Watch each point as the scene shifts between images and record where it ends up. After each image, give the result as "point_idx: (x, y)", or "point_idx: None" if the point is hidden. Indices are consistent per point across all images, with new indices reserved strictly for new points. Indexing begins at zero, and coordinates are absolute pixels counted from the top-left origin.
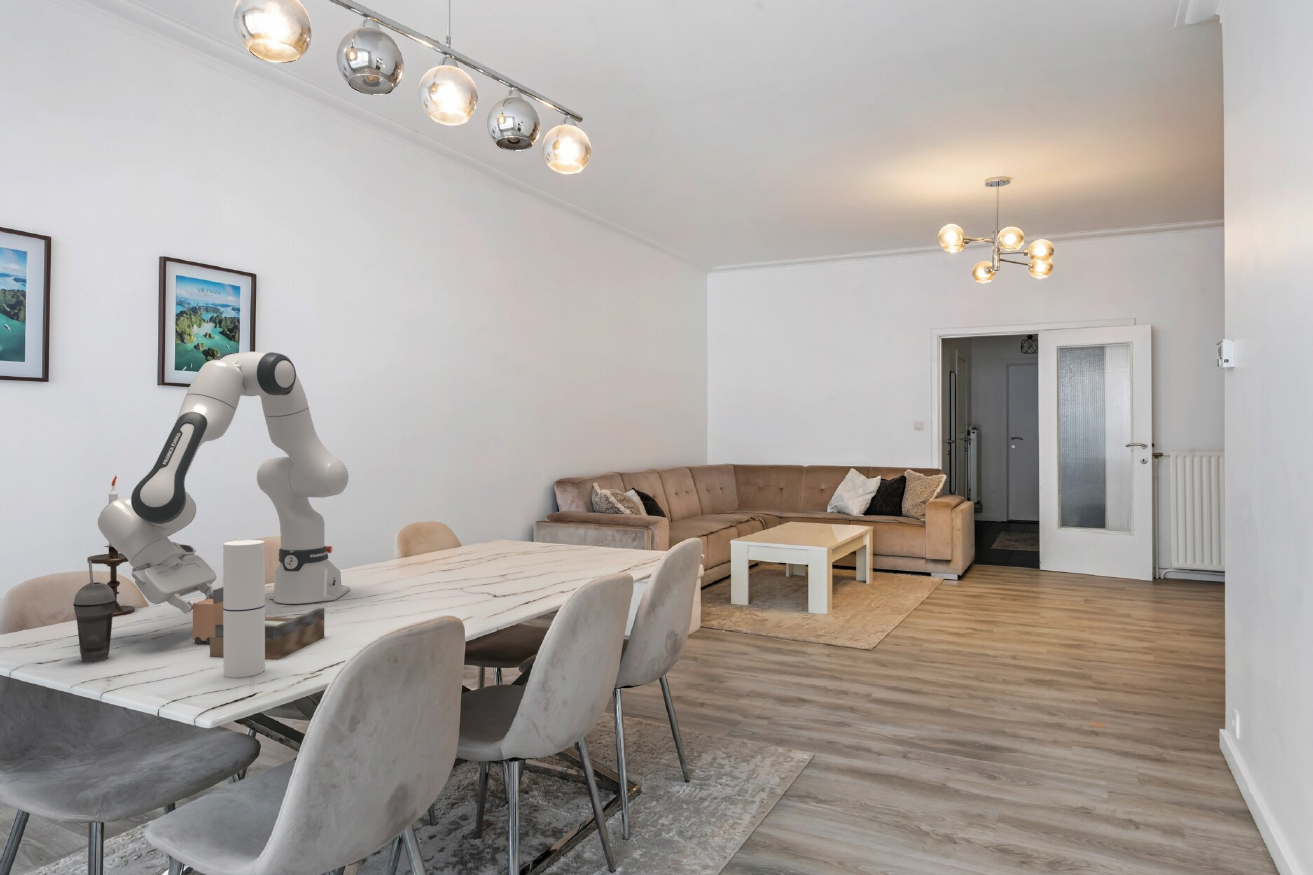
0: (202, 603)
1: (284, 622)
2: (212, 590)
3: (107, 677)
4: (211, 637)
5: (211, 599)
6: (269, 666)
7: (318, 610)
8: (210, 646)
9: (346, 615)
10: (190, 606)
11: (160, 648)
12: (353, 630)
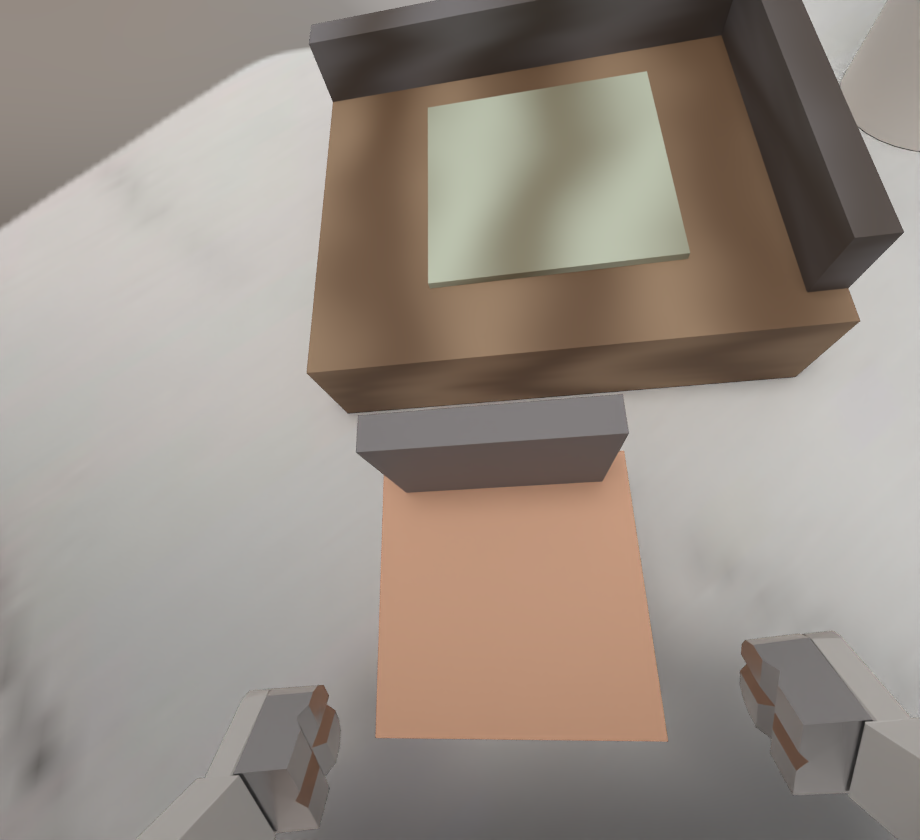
0: (627, 610)
1: None
2: (185, 814)
3: None
4: (855, 313)
5: (409, 658)
6: None
7: (368, 14)
8: (822, 349)
9: (9, 282)
10: (816, 645)
11: (768, 835)
12: (262, 127)
